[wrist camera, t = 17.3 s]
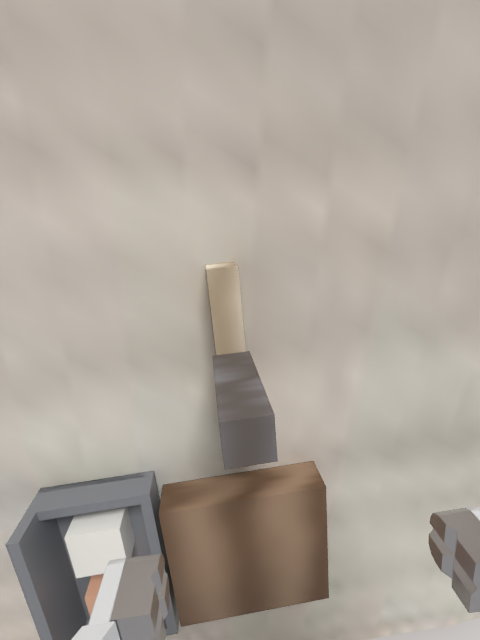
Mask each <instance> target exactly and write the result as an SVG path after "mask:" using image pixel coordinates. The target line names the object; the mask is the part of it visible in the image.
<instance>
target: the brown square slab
mask: <svg viewBox="0 0 480 640" xmlns="http://www.w3.org/2000/svg"><path fill="white" fill-rule="evenodd" d="M159 519H160V524H161V529H162V534H163V539H164V544H165V549H166V554H167V559H168V564H169V569H170V574H171V579H172V584H173V589H174V594H175V599H176V604H177V609H178V614H179V619H180V624H181V627H182V626H187V625H192V624H197V623H202V622H207V621H212V620H218V619H223V618H228V617H233V616H238V615H243V614H248V613H254V612H259V611H264V610H269V609H274V608H279V607H284V606H290V605H295V604H300V603H305V602H310V601H315V600H320V599H326V598H329V588H328V549H327V510H326V486H325V484H324V482H323V480H322V477H321V475H320V473H319V471H318V469H317V467H316V465H315V463H314V461H311V462H304V463H298V464H292V465H285V466H279V467H273V468H266V469H260V470H254V471H248V472H241V473H235V474H229V475H222V476H216V477H210V478H203V479H197V480H191V481H184V482H178V483H172V484H166V485H163V487H162V494H161V501H160V508H159Z"/></svg>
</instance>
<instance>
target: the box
mask: <svg viewBox="0 0 480 640" xmlns="http://www.w3.org/2000/svg"><path fill="white" fill-rule="evenodd" d="M122 507H127V508H128V512H129V517H130V521H131V525H132V530H133V534H134V539H135V543H134V547H133V552H132V557H139V556H148V555H156V554H163V557H164V561H165V566H164V572H166V573H167V574H168V579H169V610H168V615H167V616H166V618H165V619H164V621H163V622H164V626H165V631H166V636H167V635H172V634H177V633H178V624H179V614H178V609H177V604H176V599H175V594H174V589H173V584H172V579H171V574H170V569H169V564H168V559H167V554H166V549H165V544H164V539H163V534H162V529H161V524H160V519H159V508H160V500H159V494H158V489H157V484H156V479H155V474H154V471H150V472H144V473H138V474H131V475H125V476H118V477H112V478H105V479H99V480H92V481H86V482H79V483H73V484H67V485H60V486H54V487H47V488H41V489H40V490H39V492H38V493H37V495H36V497H35V498H34V500H33V501H32V503H31V505H30V506H29V508H28V510H27V511H26V513H25V515H24V516H23V518H22V519H21V521H20V523H19V524H18V526H17V528H16V529H15V531H14V533H13V534H12V536H11V537H10V539H9V541H8V542H7V544H6V547H7V550H8V553H9V555H10V558H11V561H12V564H13V566H14V569H15V572H16V574H17V577H18V580H19V583H20V585H21V588H22V591H23V593H24V596H25V599H26V601H27V604H28V607H29V610H30V612H31V615H32V618H33V620H34V623H35V626H36V628H37V631H38V634H39V637H40V639H41V640H71V639H72V638H73V637H74V636H75V634H76V633H77V632H78V631H79V630H80V628H81V627H82V626H85V625H88V623H89V620H90V615H89V612H88V608H87V605H86V602H85V599H84V598H85V595H86V591H87V588H88V585H89V582H90V579H91V576H87V577H81V578H76V576H75V572H74V569H73V566H72V562H71V559H70V556H69V552H68V549H67V546H66V542H65V539H64V538H65V535H66V533H67V531H68V529H69V526H70V524H71V522H72V519H73V517H74V515H79V514H85V513H91V512H97V511H103V510H109V509H115V508H122Z"/></svg>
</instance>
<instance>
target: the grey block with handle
mask: <svg viewBox="0 0 480 640" xmlns="http://www.w3.org/2000/svg"><path fill="white" fill-rule="evenodd" d="M206 273H207V282H208V290H209V299H210V307H211V316H212V324H213V332H214V341H215V349H216V355H215V356H213V365H214V376H215V387H216V397H217V408H218V418H219V427H220V435H221V443H222V452H223V460H224V468H225V469H231V468H238V467H244V466H250V465H257V464H263V463H270V462H276V461H278V460H277V446H276V432H275V417H274V413H273V410H272V407H271V405H270V402H269V400H268V397H267V395H266V392H265V390H264V387H263V385H262V382H261V379H260V377H259V374H258V372H257V369H256V367H255V364H254V362H253V359H252V357H251V354H250V351H246V349H245V338H244V328H243V317H242V306H241V295H240V284H239V273H238V266H237V265H236V264H235V263H234V262H228V263H218V264H209V265H206Z"/></svg>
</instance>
